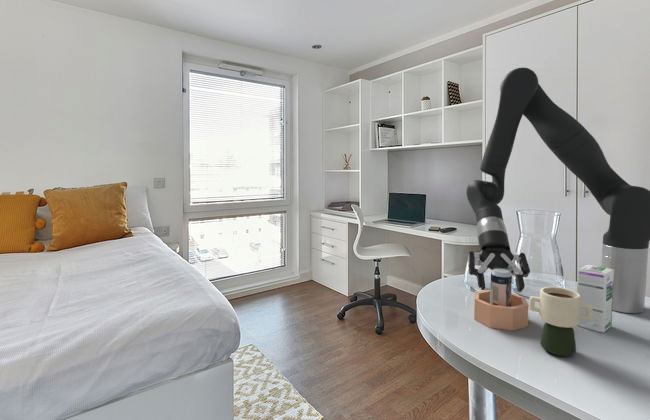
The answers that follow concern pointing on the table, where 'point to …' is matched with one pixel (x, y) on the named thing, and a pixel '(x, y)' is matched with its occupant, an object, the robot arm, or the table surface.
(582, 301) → the syrup box
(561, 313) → the character mug
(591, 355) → the table surface
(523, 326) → the terracotta bowl
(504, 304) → the beer can
